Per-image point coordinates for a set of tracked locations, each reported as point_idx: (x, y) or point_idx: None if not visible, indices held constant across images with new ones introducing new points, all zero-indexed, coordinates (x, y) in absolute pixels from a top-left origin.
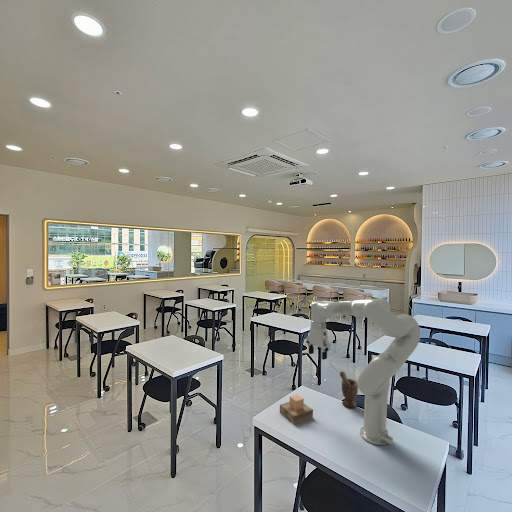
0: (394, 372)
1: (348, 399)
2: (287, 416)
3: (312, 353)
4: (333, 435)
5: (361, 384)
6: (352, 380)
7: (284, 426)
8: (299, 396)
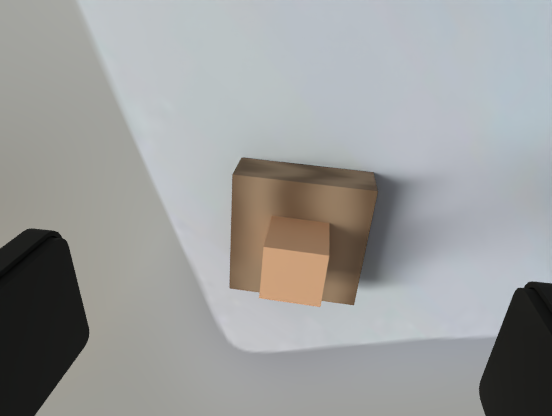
0: None
1: None
2: None
3: (71, 267)
4: (543, 205)
5: None
6: None
7: (334, 315)
8: (291, 254)
